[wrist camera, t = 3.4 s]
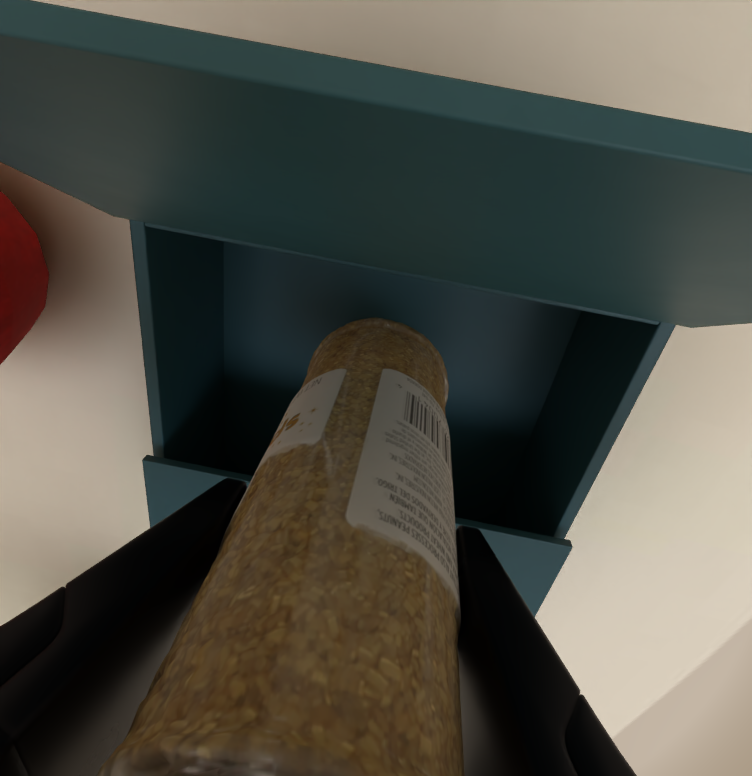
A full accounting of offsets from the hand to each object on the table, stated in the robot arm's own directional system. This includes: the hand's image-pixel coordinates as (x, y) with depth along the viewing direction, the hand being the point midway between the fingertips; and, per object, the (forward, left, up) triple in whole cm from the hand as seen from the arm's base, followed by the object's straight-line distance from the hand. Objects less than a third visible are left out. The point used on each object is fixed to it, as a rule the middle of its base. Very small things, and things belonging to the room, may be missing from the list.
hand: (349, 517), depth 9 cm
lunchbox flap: (+6, 0, -1) cm, 6 cm away
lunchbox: (-3, 0, -10) cm, 10 cm away
